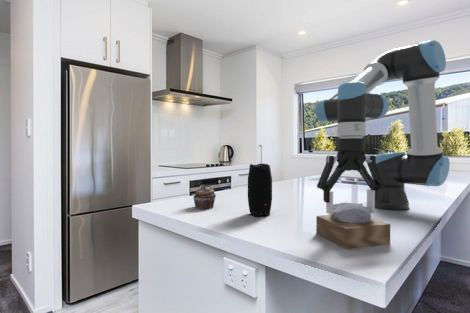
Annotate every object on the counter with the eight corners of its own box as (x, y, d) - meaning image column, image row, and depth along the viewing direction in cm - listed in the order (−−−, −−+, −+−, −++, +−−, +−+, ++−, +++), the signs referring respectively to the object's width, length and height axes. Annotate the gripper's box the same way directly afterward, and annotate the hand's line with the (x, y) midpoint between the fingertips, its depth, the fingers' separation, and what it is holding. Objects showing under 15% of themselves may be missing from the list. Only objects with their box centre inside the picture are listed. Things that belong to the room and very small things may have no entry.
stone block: (337, 229, 80) (375, 223, 79) (334, 211, 80) (371, 205, 79) (329, 219, 92) (362, 213, 90) (326, 204, 92) (359, 198, 91)
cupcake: (196, 204, 131) (196, 182, 131) (217, 205, 130) (217, 183, 129) (190, 209, 122) (190, 186, 121) (213, 210, 120) (212, 186, 120)
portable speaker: (273, 217, 108) (273, 164, 107) (248, 217, 108) (248, 165, 107) (270, 211, 117) (270, 163, 116) (247, 211, 117) (247, 163, 116)
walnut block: (354, 230, 92) (354, 212, 92) (390, 245, 79) (390, 223, 79) (316, 235, 88) (316, 215, 88) (346, 251, 75) (347, 228, 75)
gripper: (315, 137, 78) (315, 217, 79) (399, 137, 81) (397, 214, 82) (305, 138, 85) (305, 211, 86) (382, 137, 88) (381, 208, 89)
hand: (350, 212), depth 84 cm, fingers open, 12 cm apart
